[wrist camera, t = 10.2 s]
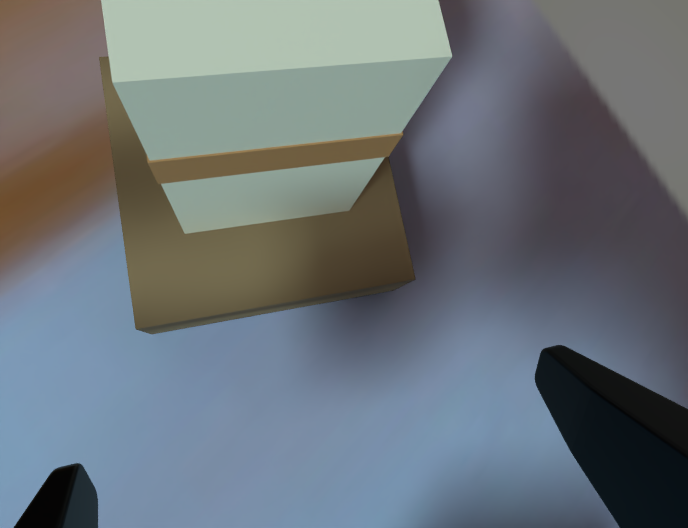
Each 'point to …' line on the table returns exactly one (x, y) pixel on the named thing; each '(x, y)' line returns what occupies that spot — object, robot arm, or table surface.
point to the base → (246, 247)
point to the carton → (270, 98)
